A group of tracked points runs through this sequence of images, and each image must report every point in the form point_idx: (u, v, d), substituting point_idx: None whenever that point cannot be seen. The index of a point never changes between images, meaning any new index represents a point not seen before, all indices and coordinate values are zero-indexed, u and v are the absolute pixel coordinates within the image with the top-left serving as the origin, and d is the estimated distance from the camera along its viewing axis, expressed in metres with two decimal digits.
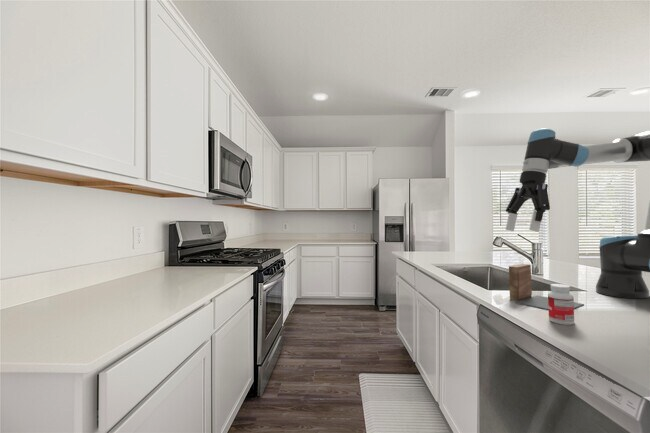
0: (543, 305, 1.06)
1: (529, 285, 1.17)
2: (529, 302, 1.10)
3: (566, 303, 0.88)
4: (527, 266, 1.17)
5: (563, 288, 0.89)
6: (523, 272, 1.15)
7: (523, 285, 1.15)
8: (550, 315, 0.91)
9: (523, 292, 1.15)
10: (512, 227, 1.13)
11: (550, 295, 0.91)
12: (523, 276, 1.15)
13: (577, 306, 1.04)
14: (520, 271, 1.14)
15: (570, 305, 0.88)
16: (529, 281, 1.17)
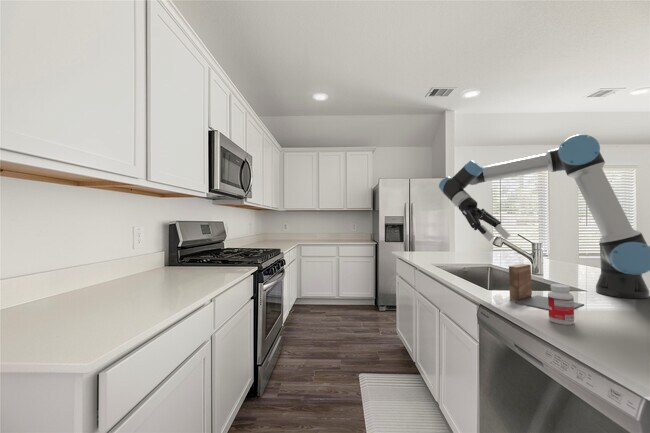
0: (543, 305, 1.06)
1: (529, 285, 1.17)
2: (529, 302, 1.10)
3: (566, 303, 0.88)
4: (527, 266, 1.17)
5: (563, 288, 0.89)
6: (523, 272, 1.15)
7: (523, 285, 1.15)
8: (550, 315, 0.91)
9: (523, 292, 1.15)
10: (506, 233, 1.27)
11: (550, 295, 0.91)
12: (523, 276, 1.15)
13: (577, 306, 1.04)
14: (520, 271, 1.14)
15: (570, 305, 0.88)
16: (529, 281, 1.17)
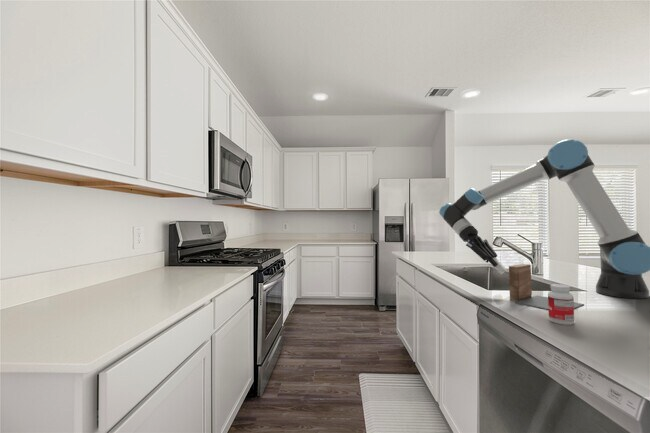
0: (543, 305, 1.06)
1: (529, 285, 1.17)
2: (529, 302, 1.10)
3: (566, 303, 0.88)
4: (527, 266, 1.17)
5: (563, 288, 0.89)
6: (523, 272, 1.15)
7: (523, 285, 1.15)
8: (550, 315, 0.91)
9: (523, 292, 1.15)
10: None
11: (550, 295, 0.91)
12: (523, 276, 1.15)
13: (577, 306, 1.04)
14: (520, 271, 1.14)
15: (570, 305, 0.88)
16: (529, 281, 1.17)
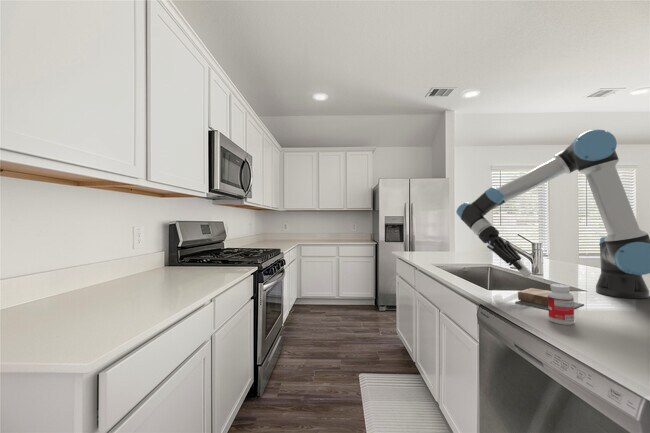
0: (543, 305, 1.06)
1: None
2: (529, 302, 1.10)
3: (566, 303, 0.88)
4: None
5: (563, 288, 0.89)
6: None
7: None
8: (550, 315, 0.91)
9: None
10: None
11: (550, 295, 0.91)
12: None
13: (577, 306, 1.04)
14: None
15: (570, 305, 0.88)
16: None
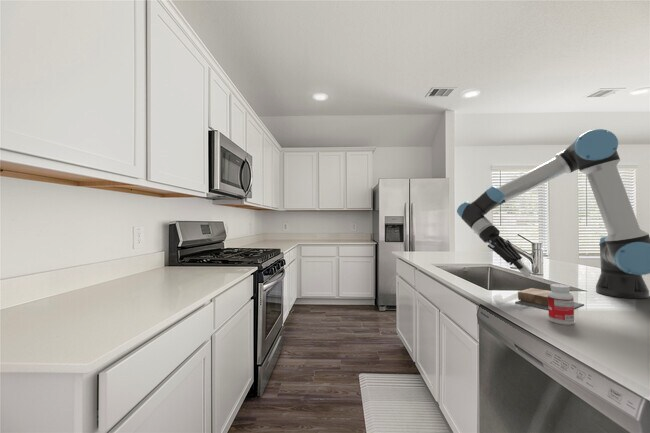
0: (543, 305, 1.06)
1: None
2: (529, 302, 1.10)
3: (565, 303, 0.88)
4: None
5: (563, 288, 0.89)
6: None
7: None
8: (550, 315, 0.91)
9: None
10: None
11: (550, 295, 0.91)
12: None
13: (577, 306, 1.04)
14: None
15: (570, 305, 0.88)
16: None
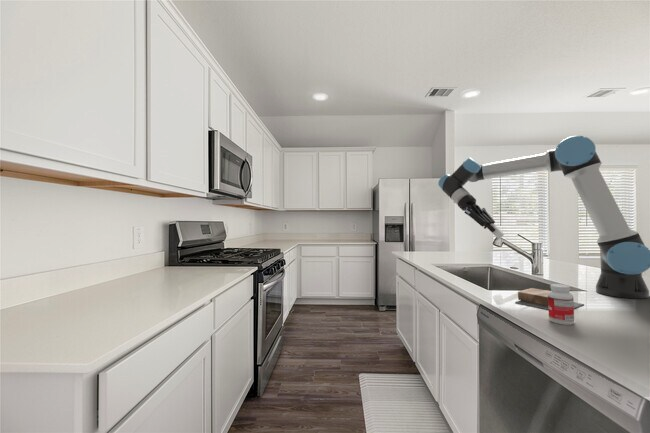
0: (543, 305, 1.06)
1: None
2: (529, 302, 1.10)
3: (566, 303, 0.88)
4: None
5: (563, 288, 0.89)
6: None
7: None
8: (550, 315, 0.91)
9: None
10: None
11: (550, 295, 0.91)
12: None
13: (577, 306, 1.04)
14: None
15: (570, 305, 0.88)
16: None
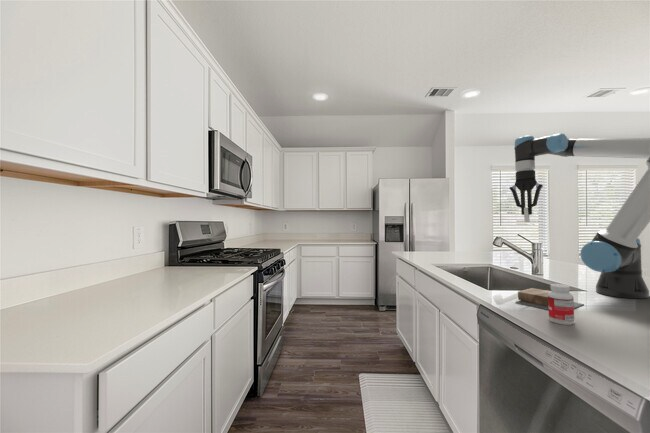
0: (543, 305, 1.06)
1: None
2: (529, 302, 1.10)
3: (566, 303, 0.88)
4: None
5: (563, 288, 0.89)
6: None
7: None
8: (550, 315, 0.91)
9: None
10: None
11: (550, 295, 0.91)
12: None
13: (577, 306, 1.04)
14: None
15: (570, 305, 0.88)
16: None
